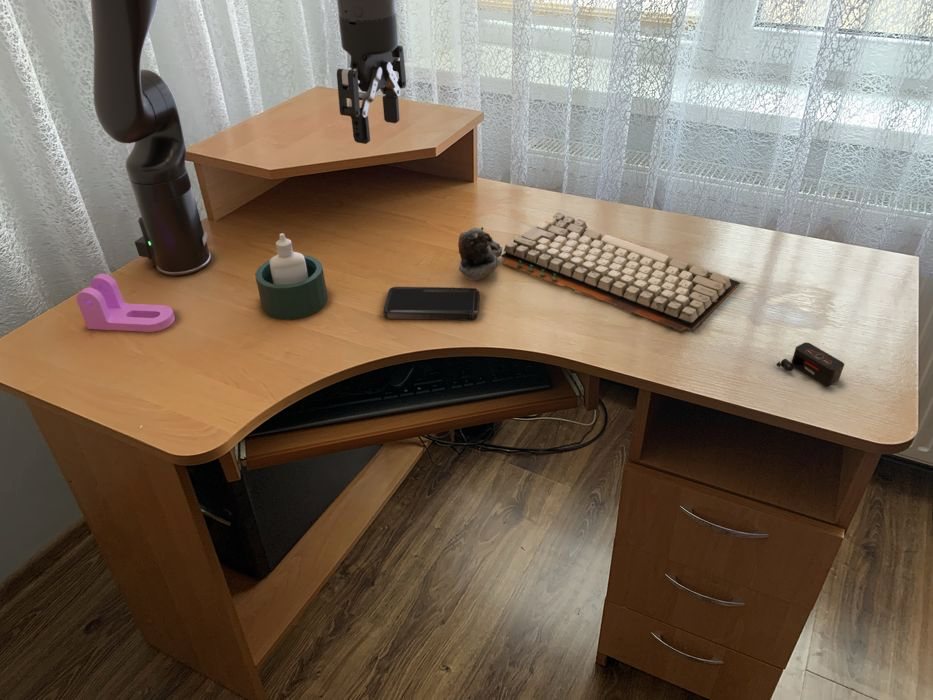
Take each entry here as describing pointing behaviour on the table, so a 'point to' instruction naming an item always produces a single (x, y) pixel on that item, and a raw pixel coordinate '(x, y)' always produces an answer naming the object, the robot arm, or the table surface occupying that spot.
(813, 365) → the wireless earbuds
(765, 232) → the table surface
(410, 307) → the phone
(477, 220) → the table surface
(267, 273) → the green short hollow cylinder
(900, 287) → the table surface
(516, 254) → the mechanical keyboard
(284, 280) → the eye dropper bottle
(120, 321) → the bracket
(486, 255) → the bison figurine
